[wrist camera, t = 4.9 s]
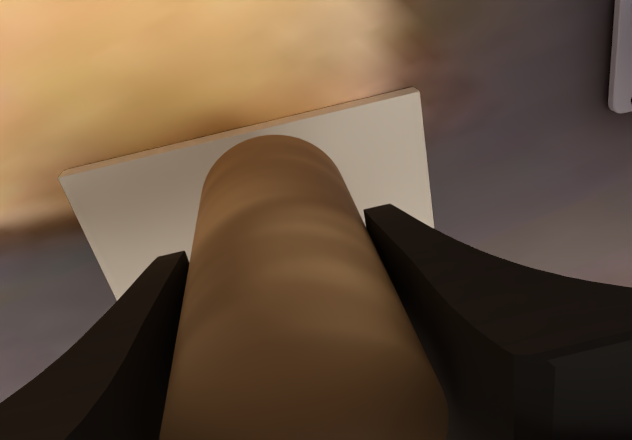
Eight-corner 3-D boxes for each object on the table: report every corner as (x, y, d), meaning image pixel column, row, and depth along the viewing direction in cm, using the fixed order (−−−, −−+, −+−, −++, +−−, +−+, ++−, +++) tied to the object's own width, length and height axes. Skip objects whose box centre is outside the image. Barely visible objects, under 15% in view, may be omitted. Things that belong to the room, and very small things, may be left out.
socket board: (413, 86, 20) (419, 91, 20) (448, 403, 29) (454, 414, 28) (63, 169, 20) (57, 178, 19) (203, 465, 29) (202, 478, 28)
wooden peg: (335, 120, 13) (441, 298, 6) (355, 251, 15) (454, 503, 8) (182, 151, 13) (115, 369, 6) (221, 279, 15) (203, 562, 8)
